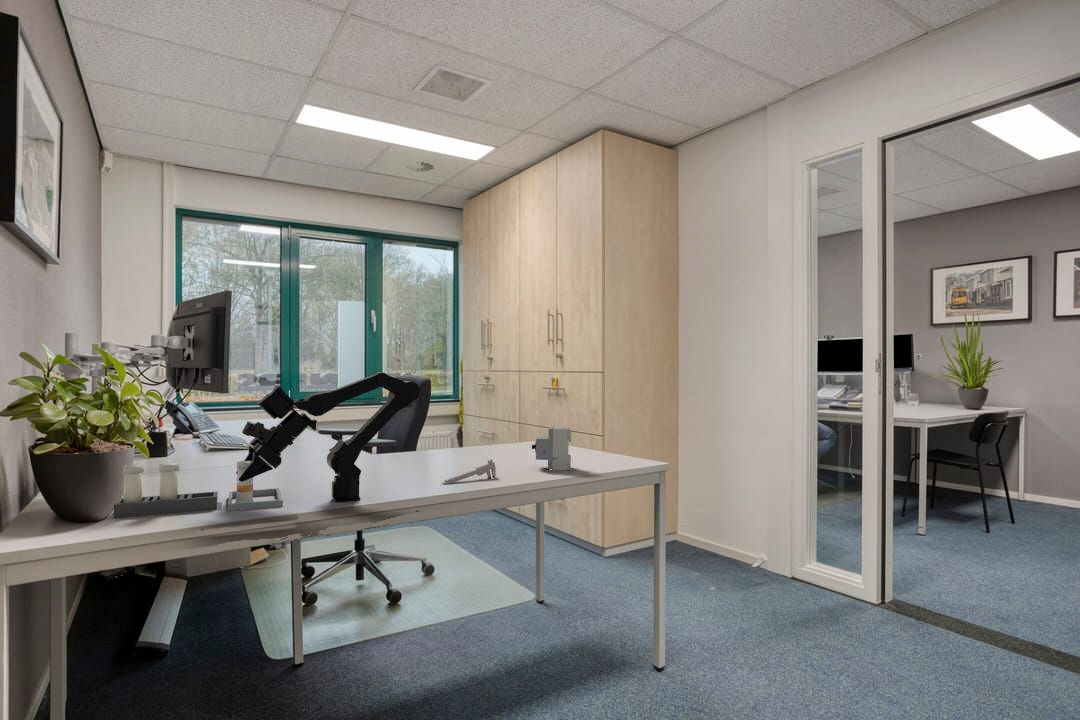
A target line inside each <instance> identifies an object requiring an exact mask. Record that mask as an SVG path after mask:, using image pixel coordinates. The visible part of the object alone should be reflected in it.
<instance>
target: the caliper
mask: <svg viewBox="0 0 1080 720" xmlns="http://www.w3.org/2000/svg"><path fill="white" fill-rule="evenodd" d="M496 470H497V469H496V464H495V462H494V461H493V459H490V460H487V463H485V464H483V465H480V466H477V467H475V469H473V470H469V471H466V472H464V473H461V474H457V475H455V476H453V477H449V478H447V479H444V481H443V482H441V485H443V484H444V485H450V484H449V483H451V484H454V483H457V482H459V481H462V480H465V479H468V478H469V477H473V476H476V475H477V476H478V477H479V476H481V475H484V474H486V475H487V478H488V477H491V478H492V476H494V477H493V478H496V473H497V472H496Z"/></svg>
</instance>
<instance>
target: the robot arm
mask: <svg viewBox="0 0 1080 720" xmlns="http://www.w3.org/2000/svg"><path fill="white" fill-rule="evenodd" d="M378 388H382V389H384V390H386V391H388V392H390V393H389V396H388V397H387V400H386V401H385V403H384V404H383V405H382V406H380V407H379V409H378V410H377V411H376V412H375V413H373V415H372V416H371V417H370V418H369V419H368V420H366V422H365V423H364V424H363V425H362V426H361V427H360V428H359V429H358V430H357V431H356V433H354V434H353V435H352V436H351V438H349V439H346V441H344V440H342V439H338V440H337V442H336V443H335V444H334V446H333V447H331V448H329V449H328V451H329V453H328V454H327V456H326V463H327V465H328V467H329V468H331V470H332V471H333V472H334V474H335V475H334V476H333V481H331V497H332V499H333V500H334V501H335V502H349V501H359V500H361V496H360V478H361V477H360V476H361V474H362V470H361V469H360V468H359V466H357V465H356V464H355V463H356V462H357V460H358V459H359V456H360V454H361V452H362V450H363V449H364V448H365V446H366V445H368V443H369V442H371V440H372V439H374V437H375V436H376V435H377V434H379V432H380V431H382V429H383V428H384V427H385V425H387V424H388V422H389V421H391V420H392V419H393V418H394V416H395V415H396V414H397V413H398V412H400V411H401V410H403V409H405V408H407V407H409V406H410V405H411V404H412V403H413V402H415V401H417V400H418V399H419V397H420V395H421V389H420V386H419V385H418V383H416V382H414V381H410V380H401V379H398V378H397V377H393V376H391V375H388V374H387V373H385V372H380V371H377V372H375V373H374V374H372V375H368V376H367V377H364V378H362V379H358V380H356V381H354V382H351V383H348V384H345V385H342V386H341V387H337V388H334V389H331V390H323V391H319V392H314V393H313V392H312V393H310V394H308V395H306V396H305V397H304V398H299V399H297V398H296V399H292V398H291V397H290V396H289V394H287V393H286V392H285V391H284V389H283V388H282V387H281V386H277V387H275V388H274V389H273V390H271V391H270V392H269V393H267V394H265V395H264V396H263V397H262V398H261V399H260V400H259V401H258V402H257V405H258V406H259V407H260V409H262V410H263V411H264V412H265V413H266V414H268V415H269V416H270V417H271V418H272V419H273V420H275V419H277V418H278V419H280V422H279V423H278V424H277V425H276V426H275V425H272V426H271V427H270V428H267V427H265V424H264V423H261V422H259V421H257V422H255V423H254V422H252V421H249V420H247V422H246V424H245V425H244V427H243V429H242V431H241V433H242V435H245V436H248V437H251V438H252V437H253V439H252V440H251V441H250V442H249V445H248V454H247V456H246V457H245V458H244V460H243V461H252V462H251V463H250V465H249V466H248V467H247V469H246V470H245V471H244V472H243V474H242V475H241V476H240V478H239V480H240V481H241V482H243V481H246V480H248V479H250V478H253V479H254V477H257V476H260V475H261V474H265V473H266V472H269V471H273V470H274V469H277V468H278V467H279V466H281V464H282V459H283V458H282V457H281V456H282V452H284V451H285V450H286V449H287V448H288V447H289V446H292V445H293V444H294V441H295V440H296V439H297V438H299V436H300V435H301V434H302V433H303V432H304V431H305V430H306V429H308V428H310V429H311V430H313V431H317V422H318V420H317V419H312V418H310V417H309V416H308V415H307V414H309V415H311V416H312V417H313V416H314V417H320V416H321V417H322V416H324V415H325V414H327V413H328V412H330V411H331V410H334V409H335V408H336V407H337V406H339V405H340V404H341V403H342V404H343V402H346V401H349V400H351V399H354V398H356V397H359V396H360V395H364V394H366V393H368V392H371V391H374V390H376V389H378ZM293 407H295V408H296V409H298V410H300V411H305V412H306V413H307V414H306V413H305V412H302V413H301V414H300V413H299V412H298V411H297V410H295V408H293ZM285 416H286V417H285ZM283 418H284V419H283ZM237 473H238V469H237V470H236V472H235V474H236V475H237Z"/></svg>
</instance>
